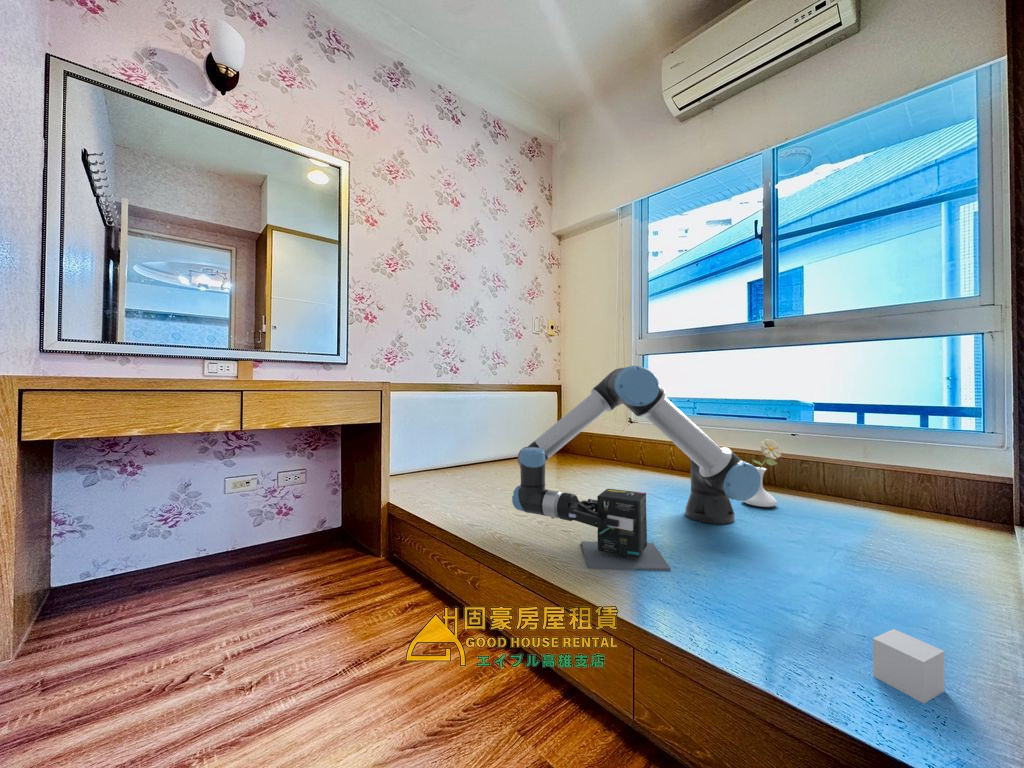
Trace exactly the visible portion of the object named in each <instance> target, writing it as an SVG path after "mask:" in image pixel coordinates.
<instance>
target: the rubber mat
mask: <svg viewBox="0 0 1024 768" xmlns="http://www.w3.org/2000/svg"><path fill="white" fill-rule="evenodd" d="M581 547H582V551H583V554H584V558H585V562H587V563H586V566H588V567H587V569H588V568H597V569H596V570H623V569H643V570H642V571H661V570H662V571H663V570H666V572H667V571H670V572H671V571H672V570H671V569H672V567H670V565H669V564H668V562H667V561H666V560H665V558H664V557H663V556H662V554H661V553H660V551H659V550H658V548H657V546H656V545H655V544H654V543H653V542H647V546H646V548H645V549H644V551H643V552H642V554H641V555H640V557H639V558H634V557H629V556H623V555H618V554H613V553H608V552H602V551H598V541H583V540H582V541H581ZM598 568H599V569H598Z"/></svg>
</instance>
